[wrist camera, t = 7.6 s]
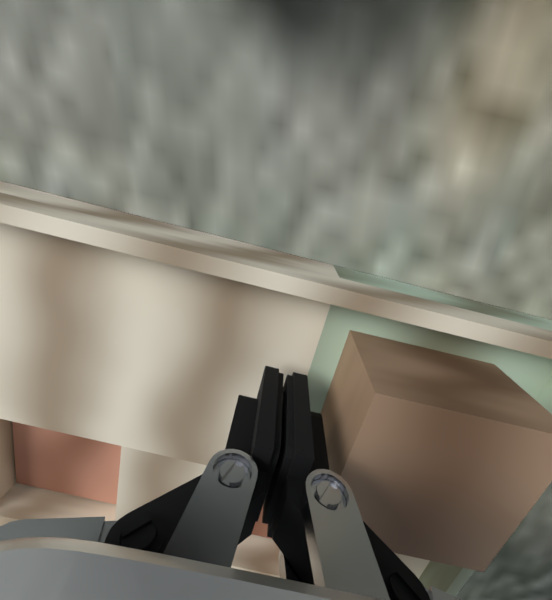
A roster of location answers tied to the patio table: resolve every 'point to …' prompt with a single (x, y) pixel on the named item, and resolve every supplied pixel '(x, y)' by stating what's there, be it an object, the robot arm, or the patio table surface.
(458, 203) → the patio table surface
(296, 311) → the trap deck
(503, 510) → the walnut block
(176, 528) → the robot arm
